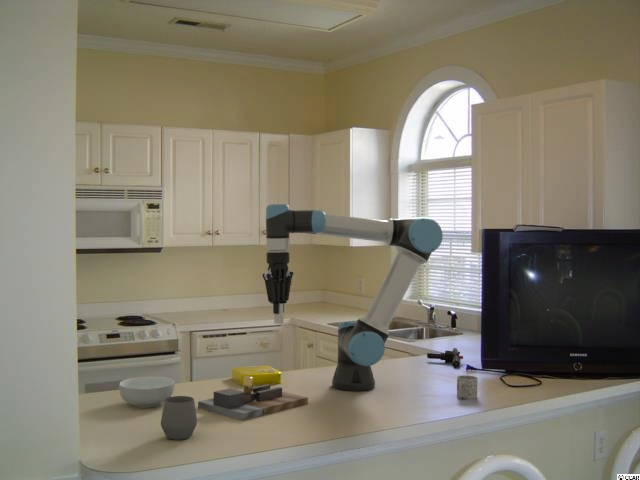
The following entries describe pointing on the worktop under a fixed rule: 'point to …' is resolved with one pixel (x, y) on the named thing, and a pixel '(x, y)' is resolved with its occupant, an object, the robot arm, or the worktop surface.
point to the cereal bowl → (146, 390)
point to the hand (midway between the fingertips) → (278, 323)
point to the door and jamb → (256, 406)
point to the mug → (467, 387)
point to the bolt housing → (237, 398)
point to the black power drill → (447, 357)
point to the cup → (179, 417)
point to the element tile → (257, 375)
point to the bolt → (249, 389)
